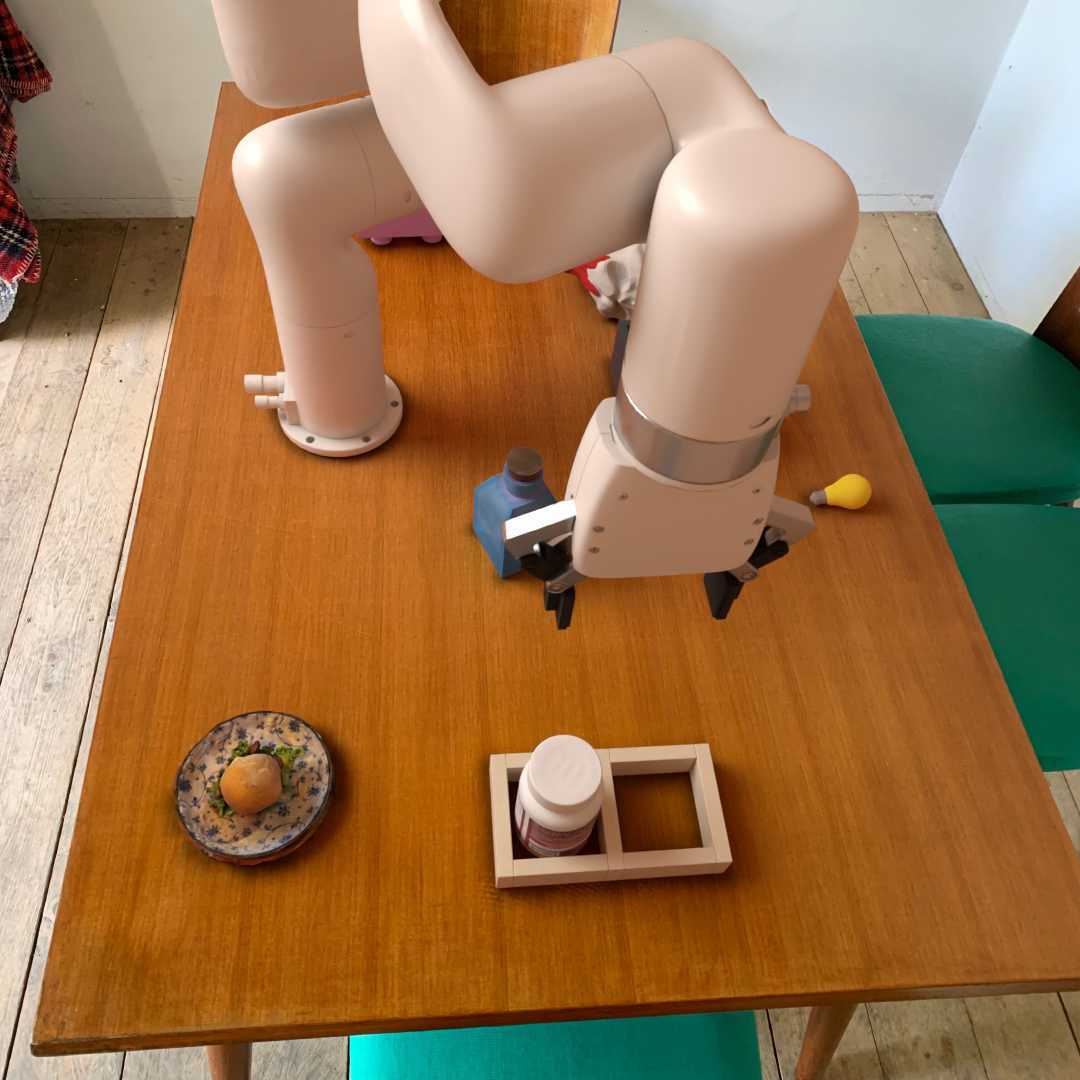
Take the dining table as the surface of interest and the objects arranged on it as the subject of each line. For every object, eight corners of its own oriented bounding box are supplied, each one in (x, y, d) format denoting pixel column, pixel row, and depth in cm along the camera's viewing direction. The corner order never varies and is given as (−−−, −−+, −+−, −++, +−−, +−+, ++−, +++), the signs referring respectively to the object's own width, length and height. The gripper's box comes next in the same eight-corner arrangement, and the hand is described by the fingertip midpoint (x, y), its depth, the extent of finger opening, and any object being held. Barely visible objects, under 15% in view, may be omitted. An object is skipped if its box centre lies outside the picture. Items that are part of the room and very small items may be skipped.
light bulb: (871, 509, 93) (878, 498, 90) (812, 520, 94) (816, 509, 91) (863, 478, 94) (869, 466, 91) (804, 489, 95) (808, 477, 92)
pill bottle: (606, 835, 72) (629, 783, 63) (541, 878, 70) (554, 830, 60) (562, 770, 75) (578, 712, 65) (498, 810, 72) (505, 754, 63)
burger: (336, 713, 76) (326, 672, 70) (335, 858, 69) (323, 826, 63) (185, 725, 74) (161, 684, 68) (169, 874, 68) (141, 843, 62)
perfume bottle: (501, 578, 85) (508, 499, 75) (473, 528, 88) (475, 446, 78) (560, 555, 87) (573, 475, 77) (530, 508, 90) (540, 425, 80)
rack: (496, 888, 69) (497, 877, 66) (489, 768, 74) (490, 754, 72) (723, 873, 71) (732, 861, 68) (700, 757, 76) (708, 743, 74)
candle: (661, 344, 104) (539, 316, 108) (690, 286, 110) (573, 261, 114) (667, 278, 97) (536, 251, 101) (697, 220, 103) (573, 196, 107)
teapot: (467, 195, 118) (469, 101, 108) (477, 244, 113) (479, 150, 103) (309, 200, 115) (295, 103, 105) (310, 251, 110) (296, 154, 99)
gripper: (847, 349, 46) (757, 547, 60) (502, 358, 44) (491, 561, 57) (899, 464, 41) (788, 648, 55) (518, 480, 39) (502, 668, 53)
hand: (637, 604), depth 56 cm, fingers open, 9 cm apart
